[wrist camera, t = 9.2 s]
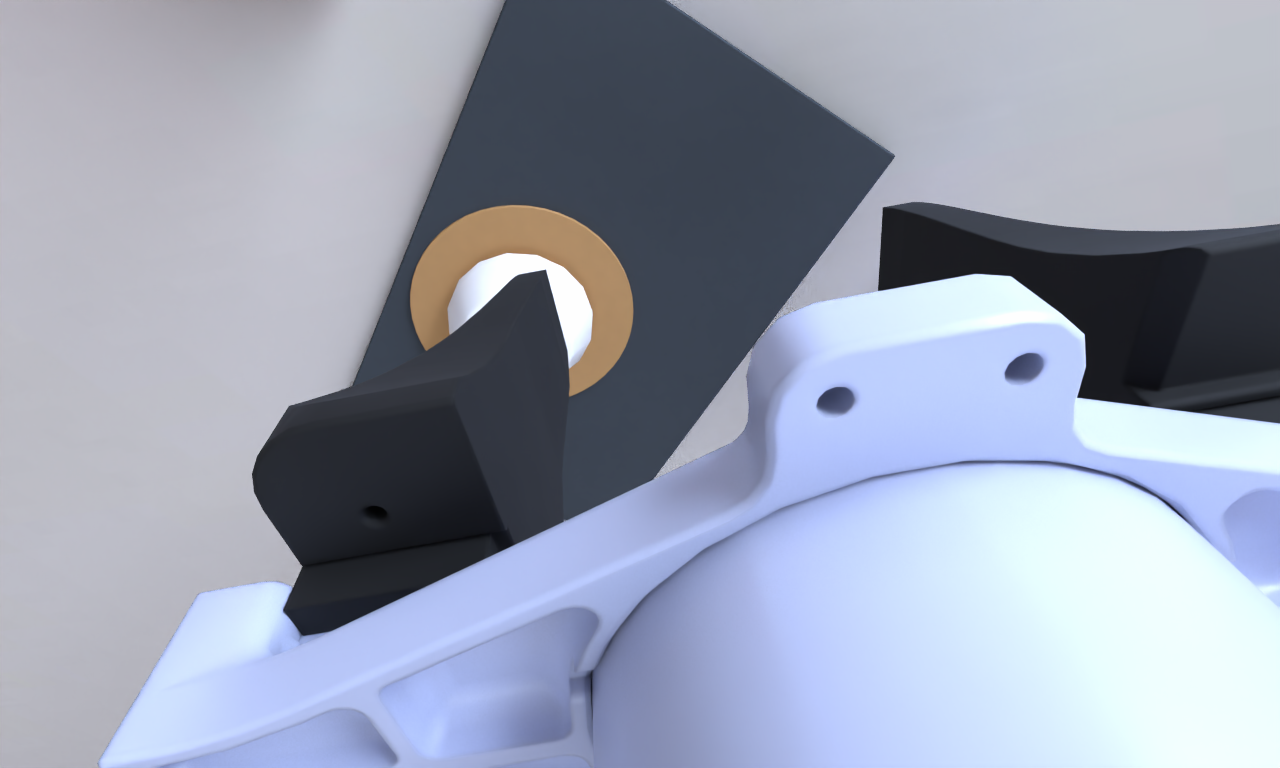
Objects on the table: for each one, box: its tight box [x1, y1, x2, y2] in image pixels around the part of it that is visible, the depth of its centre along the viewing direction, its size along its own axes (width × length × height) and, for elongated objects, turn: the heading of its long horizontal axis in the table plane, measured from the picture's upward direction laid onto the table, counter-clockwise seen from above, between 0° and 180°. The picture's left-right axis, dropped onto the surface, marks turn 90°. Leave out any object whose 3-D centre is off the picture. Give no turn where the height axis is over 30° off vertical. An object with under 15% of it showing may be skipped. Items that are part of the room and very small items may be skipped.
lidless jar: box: [448, 253, 593, 369], centre depth 22 cm, size 5×3×5 cm
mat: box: [353, 0, 895, 520], centre depth 24 cm, size 13×20×1 cm, turn 150°
